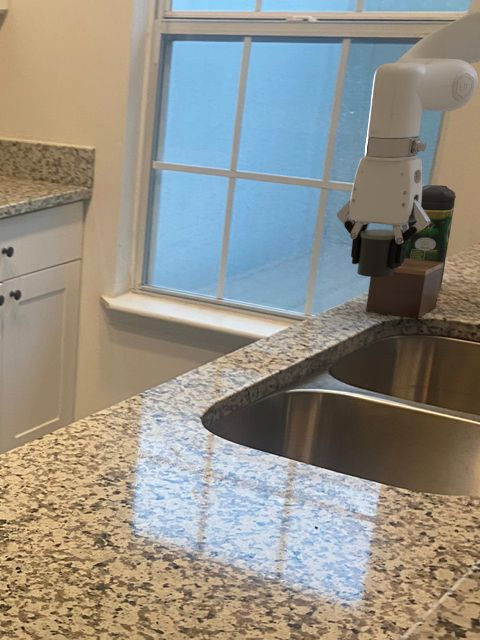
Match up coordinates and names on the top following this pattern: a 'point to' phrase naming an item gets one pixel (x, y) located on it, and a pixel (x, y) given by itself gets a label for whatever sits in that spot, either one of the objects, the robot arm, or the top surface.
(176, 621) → the top surface
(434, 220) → the coffee jar
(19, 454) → the top surface
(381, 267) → the container
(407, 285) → the box
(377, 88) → the robot arm
